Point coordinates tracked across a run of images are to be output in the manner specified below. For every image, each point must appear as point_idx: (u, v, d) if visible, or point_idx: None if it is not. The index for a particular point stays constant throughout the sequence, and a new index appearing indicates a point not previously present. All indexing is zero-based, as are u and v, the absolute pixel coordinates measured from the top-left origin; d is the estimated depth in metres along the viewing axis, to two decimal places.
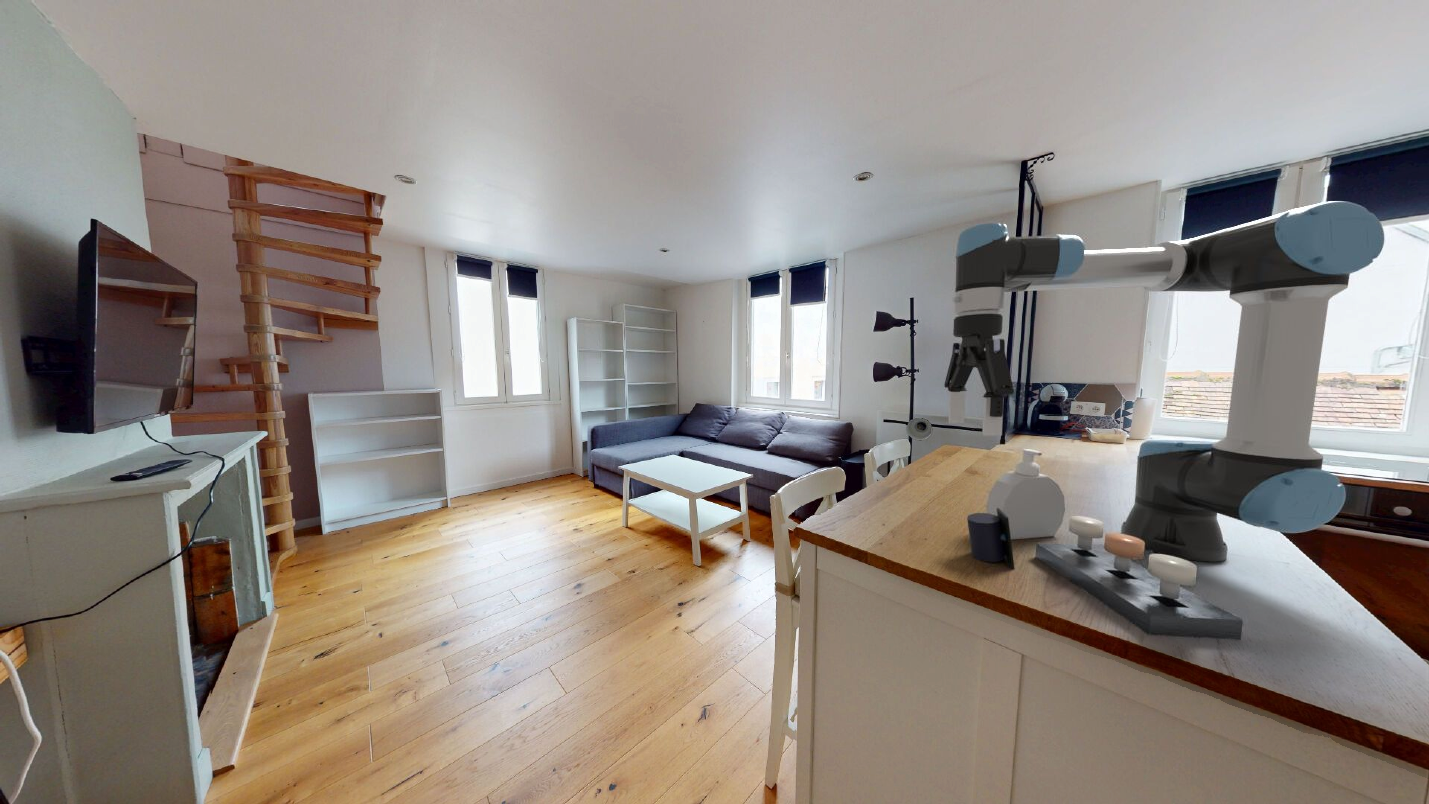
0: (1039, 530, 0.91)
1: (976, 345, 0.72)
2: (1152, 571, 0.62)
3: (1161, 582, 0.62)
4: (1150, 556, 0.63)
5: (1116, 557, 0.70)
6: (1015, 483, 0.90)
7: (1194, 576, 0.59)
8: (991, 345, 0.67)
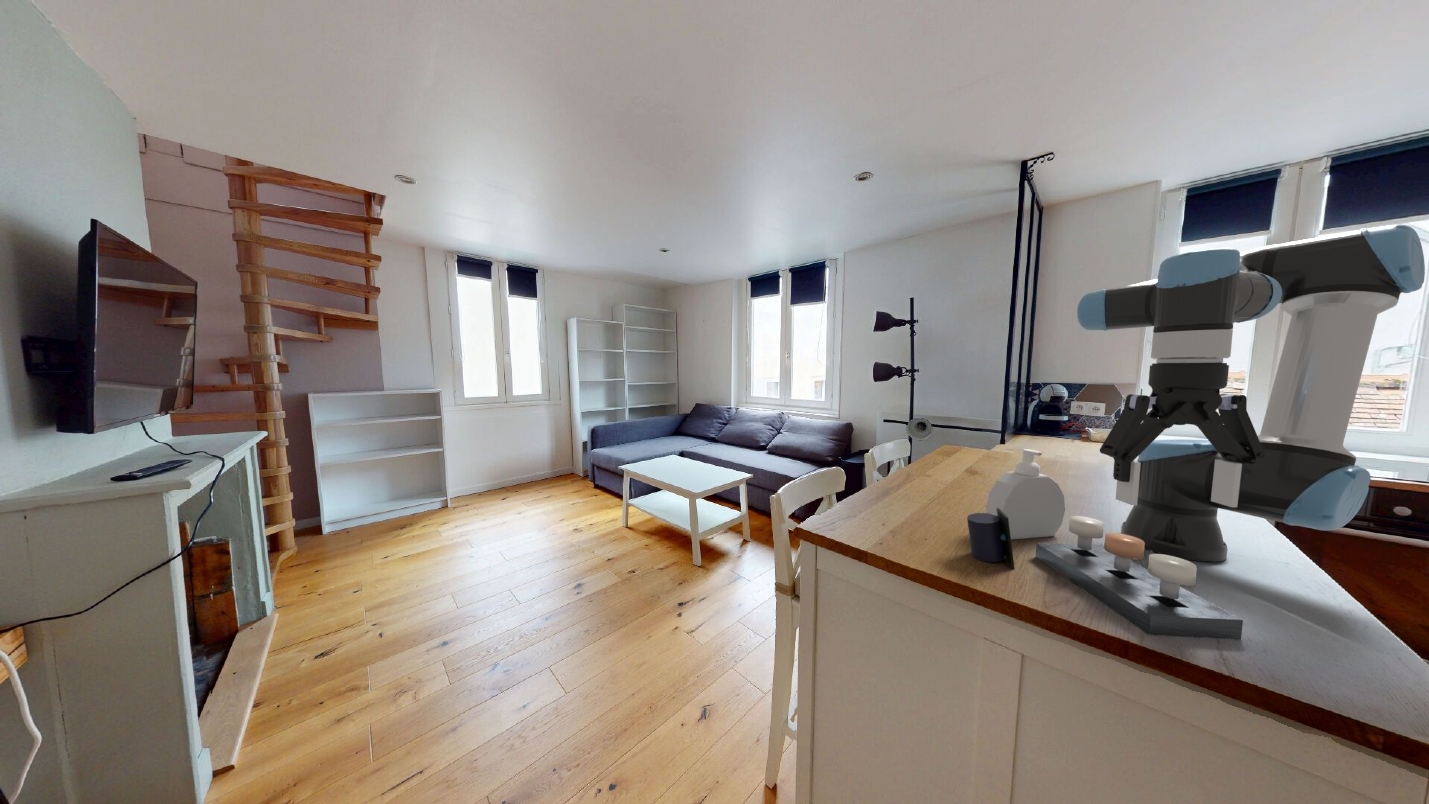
0: (1039, 530, 0.91)
1: None
2: (1152, 571, 0.62)
3: (1161, 582, 0.62)
4: (1150, 556, 0.63)
5: (1116, 557, 0.70)
6: (1015, 483, 0.90)
7: (1194, 576, 0.59)
8: (1127, 401, 0.61)
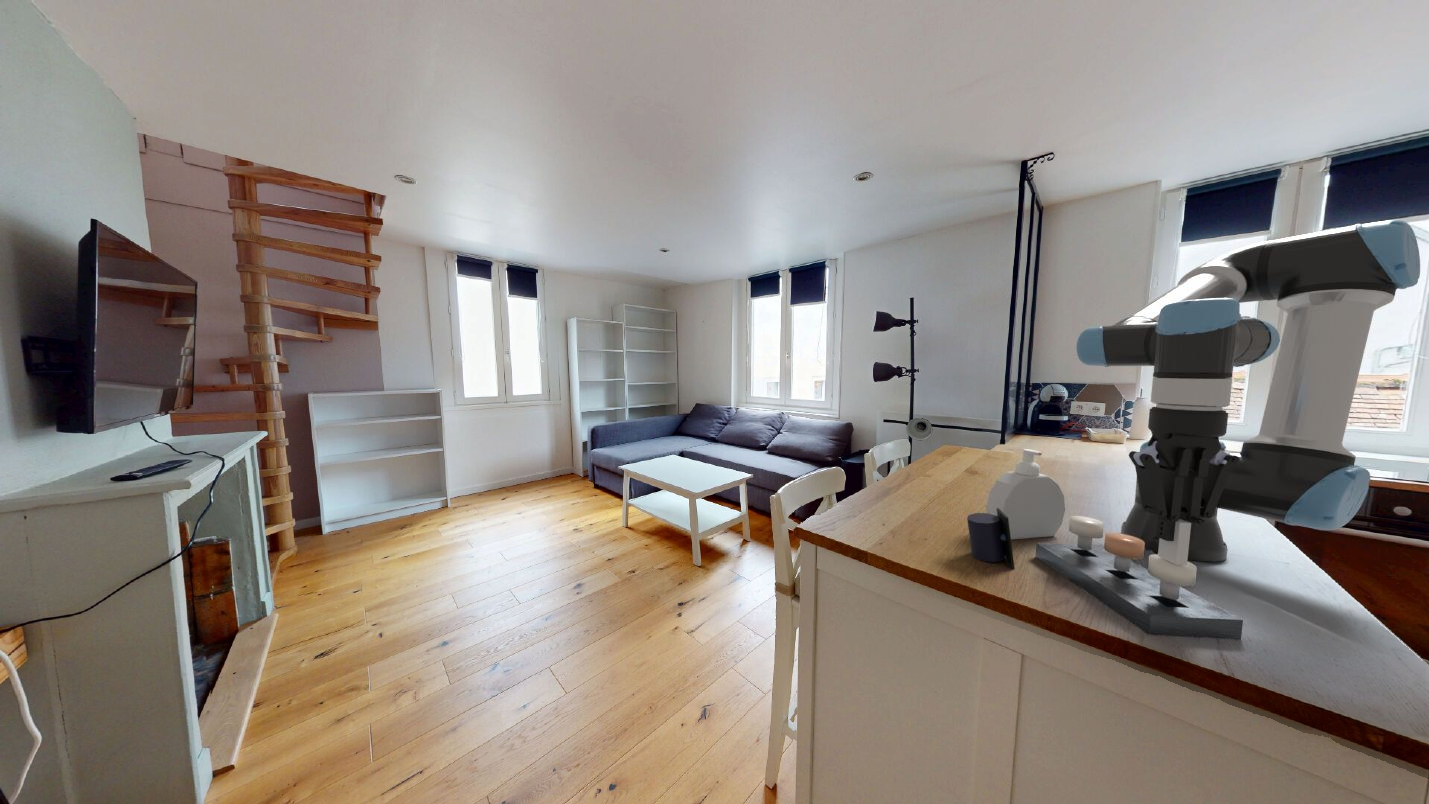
0: (1039, 530, 0.91)
1: None
2: (1151, 572, 0.62)
3: (1161, 583, 0.62)
4: (1150, 557, 0.63)
5: (1116, 557, 0.70)
6: (1015, 483, 0.90)
7: (1194, 577, 0.59)
8: (1133, 460, 0.61)
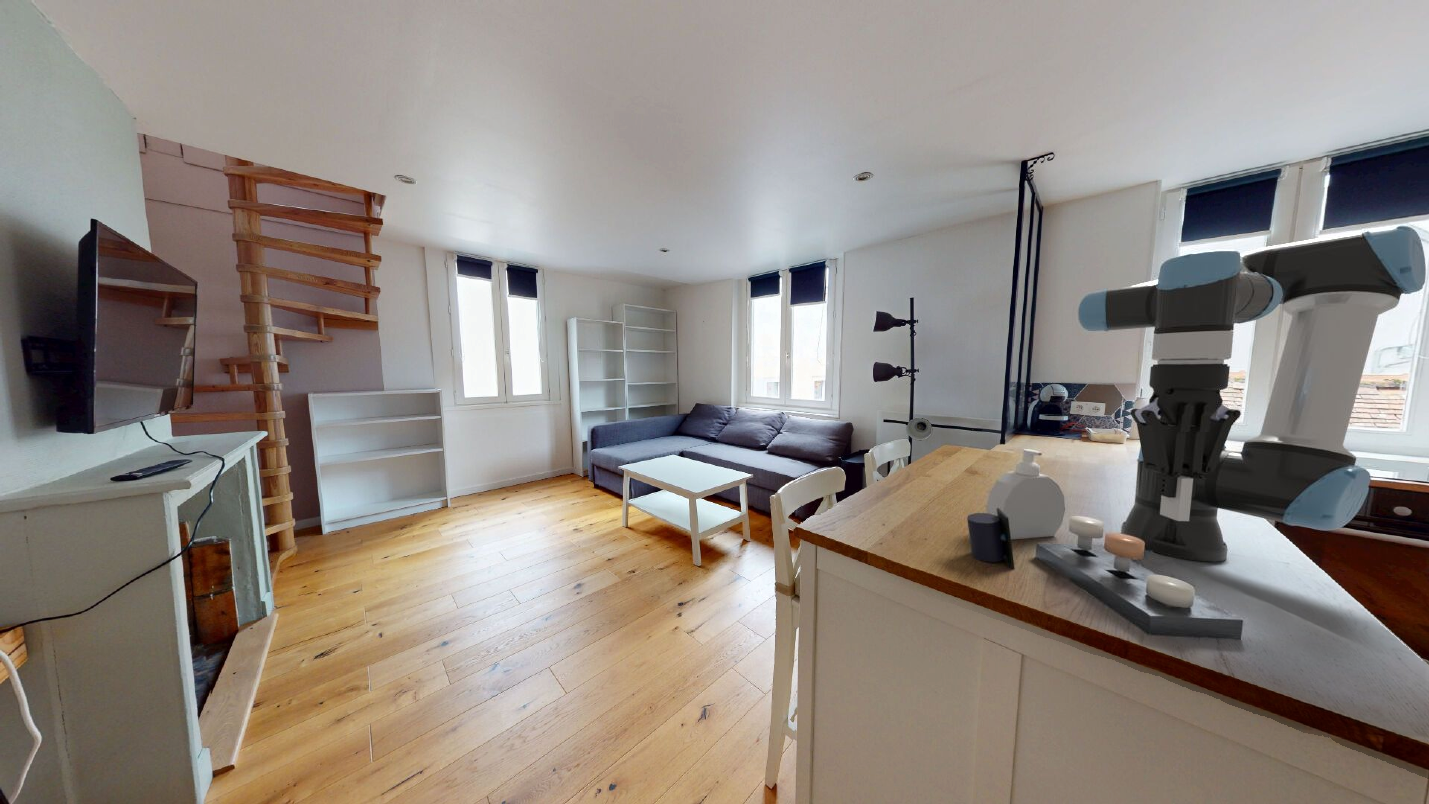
0: (1039, 530, 0.91)
1: None
2: (1150, 592, 0.62)
3: None
4: (1148, 577, 0.63)
5: (1116, 557, 0.70)
6: (1015, 483, 0.90)
7: (1192, 598, 0.59)
8: (1135, 418, 0.61)
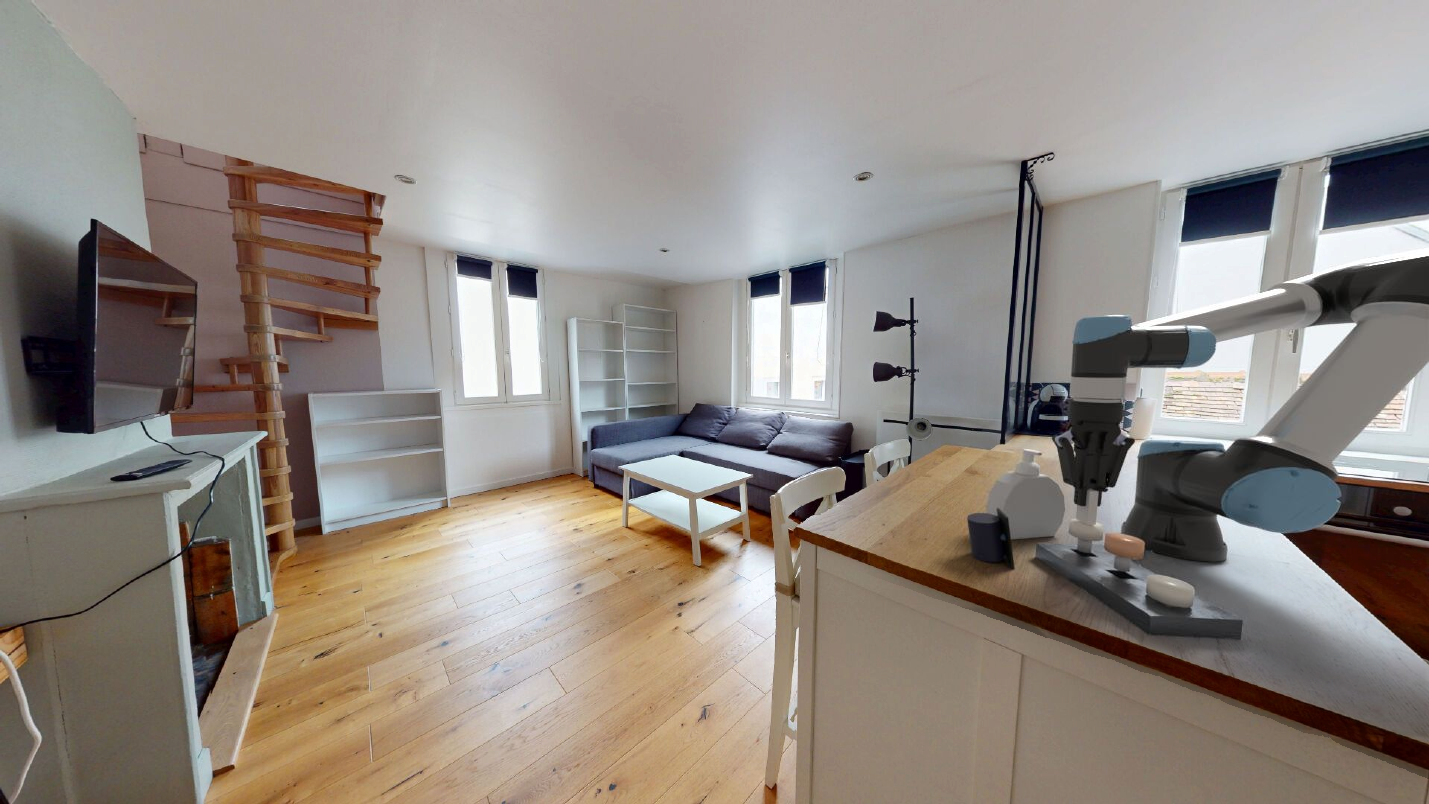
0: (1039, 530, 0.91)
1: None
2: (1150, 592, 0.62)
3: None
4: (1148, 577, 0.63)
5: (1116, 557, 0.70)
6: (1015, 483, 0.90)
7: (1192, 598, 0.59)
8: (1055, 442, 0.77)
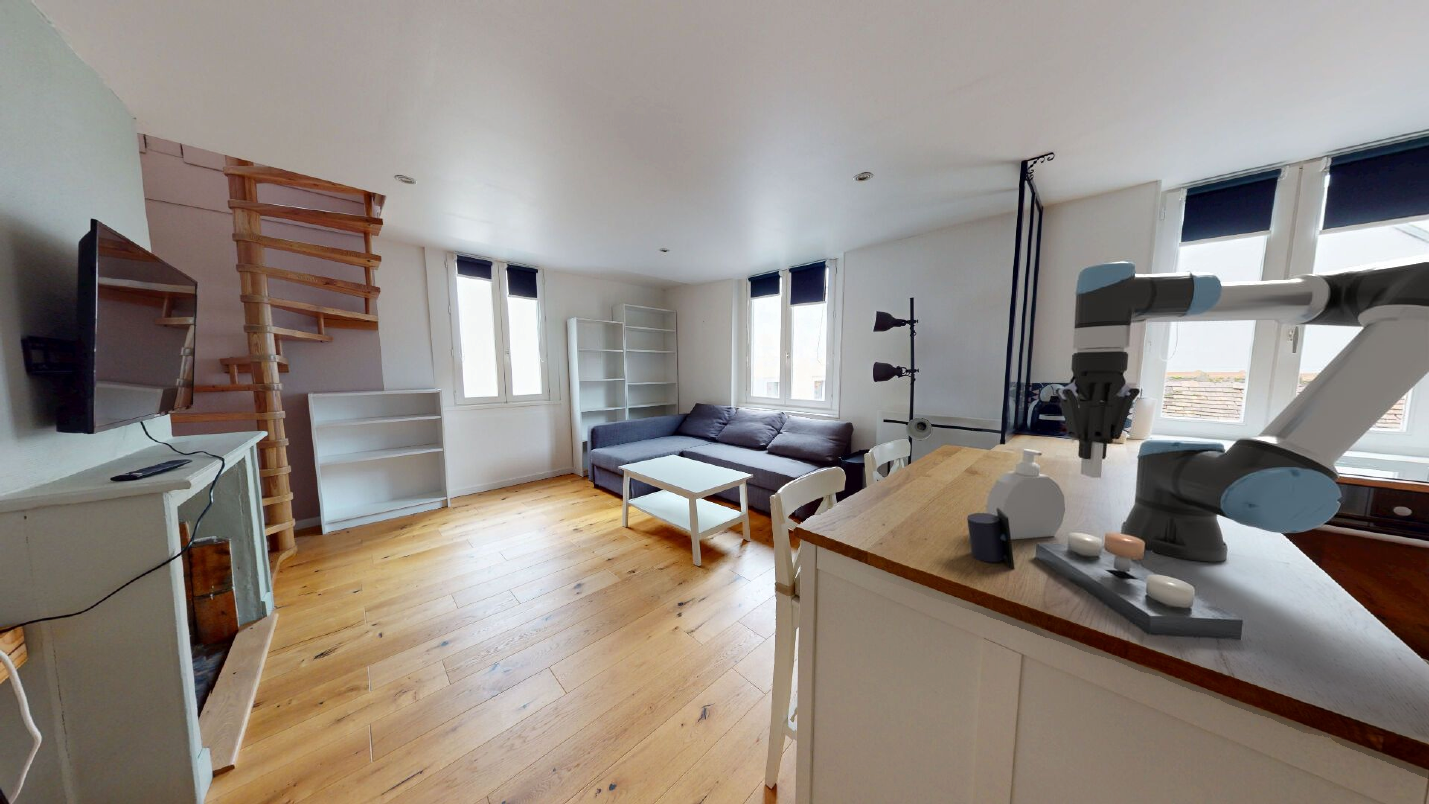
0: (1039, 530, 0.91)
1: None
2: (1150, 592, 0.62)
3: None
4: (1148, 577, 0.63)
5: (1116, 557, 0.70)
6: (1015, 483, 0.90)
7: (1192, 598, 0.59)
8: (1059, 395, 0.76)
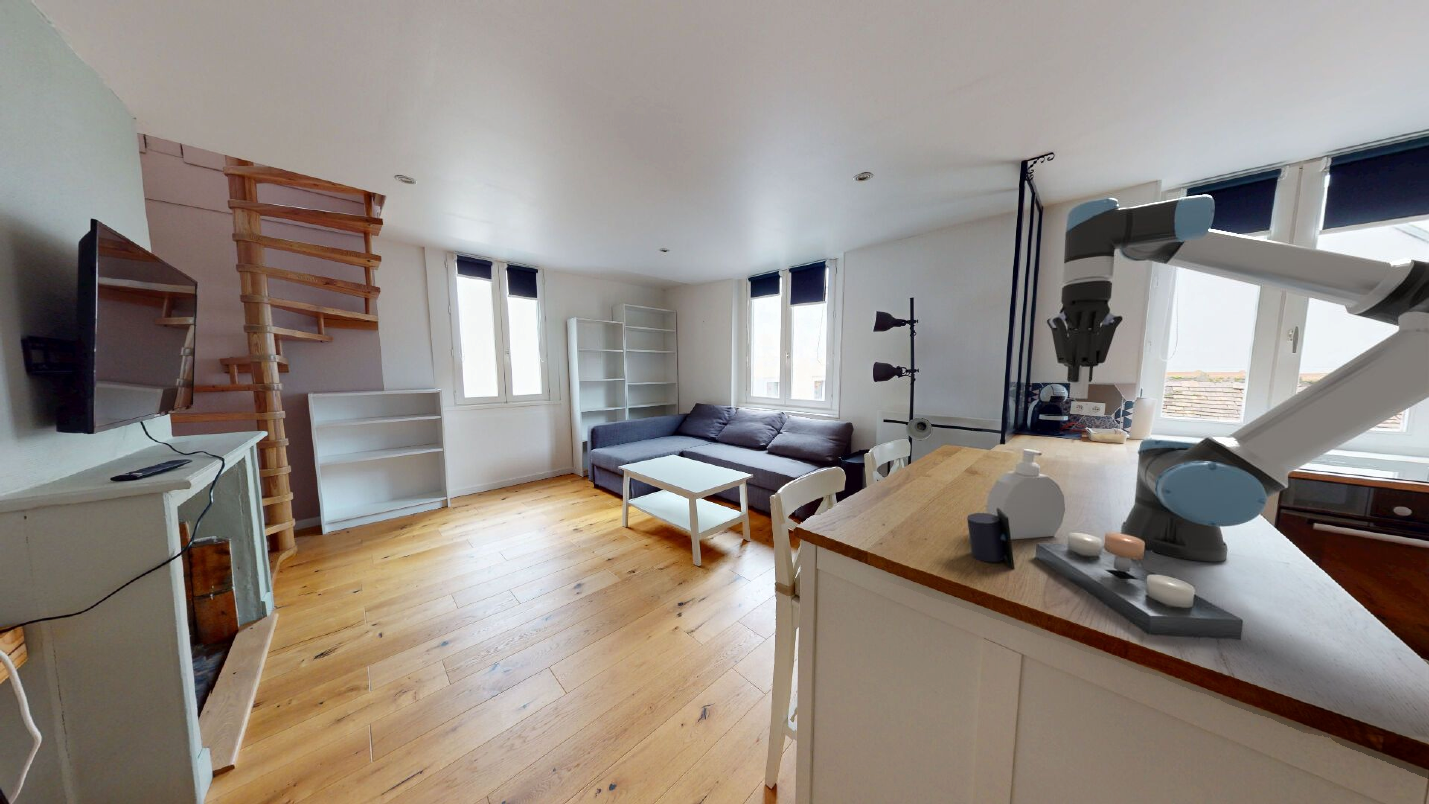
0: (1039, 530, 0.91)
1: None
2: (1150, 592, 0.62)
3: None
4: (1148, 577, 0.63)
5: (1116, 557, 0.70)
6: (1015, 483, 0.90)
7: (1192, 598, 0.59)
8: (1049, 325, 0.84)
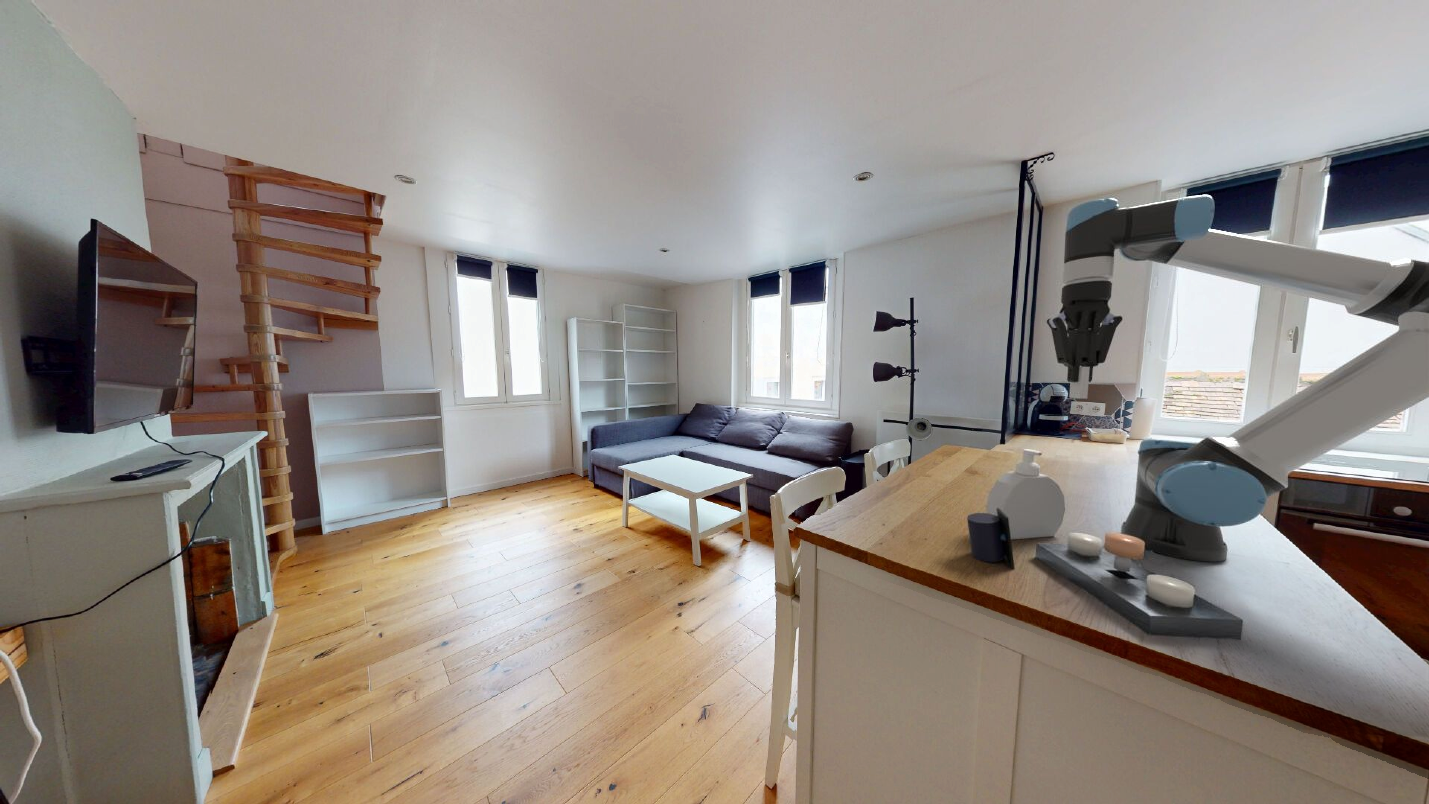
0: (1039, 530, 0.91)
1: None
2: (1150, 592, 0.62)
3: None
4: (1148, 577, 0.63)
5: (1116, 557, 0.70)
6: (1015, 483, 0.90)
7: (1192, 598, 0.59)
8: (1049, 325, 0.84)
